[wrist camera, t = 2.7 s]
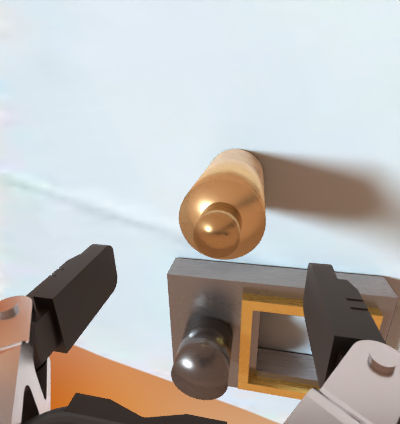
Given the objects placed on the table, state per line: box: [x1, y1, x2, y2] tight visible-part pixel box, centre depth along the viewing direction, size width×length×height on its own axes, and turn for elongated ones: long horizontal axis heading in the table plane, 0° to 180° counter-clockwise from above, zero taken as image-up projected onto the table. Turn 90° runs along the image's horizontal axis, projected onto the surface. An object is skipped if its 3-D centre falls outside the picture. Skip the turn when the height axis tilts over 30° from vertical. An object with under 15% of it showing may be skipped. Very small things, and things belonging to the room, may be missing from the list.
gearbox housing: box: [167, 258, 398, 400], centre depth 27 cm, size 20×14×8 cm
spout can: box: [179, 149, 266, 259], centre depth 20 cm, size 5×5×12 cm
